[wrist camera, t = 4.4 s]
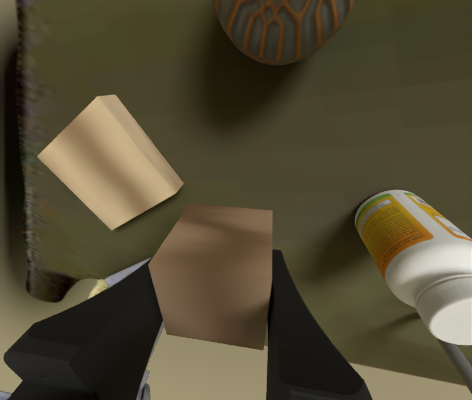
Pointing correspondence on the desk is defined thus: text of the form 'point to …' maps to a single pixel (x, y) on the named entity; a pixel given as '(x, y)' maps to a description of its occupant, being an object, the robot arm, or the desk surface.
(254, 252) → the walnut cube
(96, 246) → the desk surface
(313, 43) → the vase
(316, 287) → the desk surface
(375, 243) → the supplement bottle
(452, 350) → the newton's cradle
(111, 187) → the oak block
